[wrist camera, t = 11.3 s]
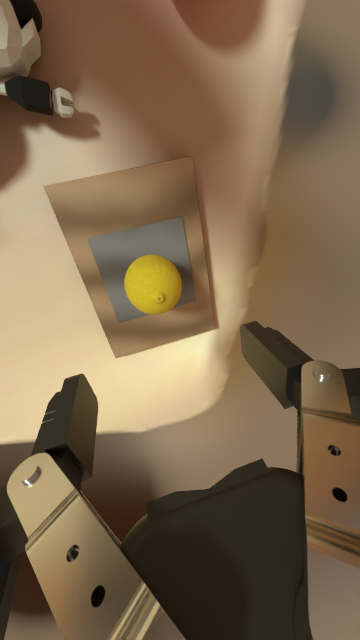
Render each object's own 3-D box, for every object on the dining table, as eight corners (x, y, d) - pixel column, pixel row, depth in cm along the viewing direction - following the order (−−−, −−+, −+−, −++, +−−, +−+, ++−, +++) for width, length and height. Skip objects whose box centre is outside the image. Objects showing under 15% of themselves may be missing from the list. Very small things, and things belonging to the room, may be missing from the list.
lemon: (176, 252, 26) (197, 270, 19) (167, 298, 28) (184, 330, 21) (125, 244, 24) (128, 261, 17) (121, 293, 26) (122, 326, 20)
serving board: (47, 187, 22) (42, 186, 20) (187, 158, 24) (192, 155, 22) (115, 351, 32) (115, 359, 30) (211, 323, 33) (215, 329, 32)
